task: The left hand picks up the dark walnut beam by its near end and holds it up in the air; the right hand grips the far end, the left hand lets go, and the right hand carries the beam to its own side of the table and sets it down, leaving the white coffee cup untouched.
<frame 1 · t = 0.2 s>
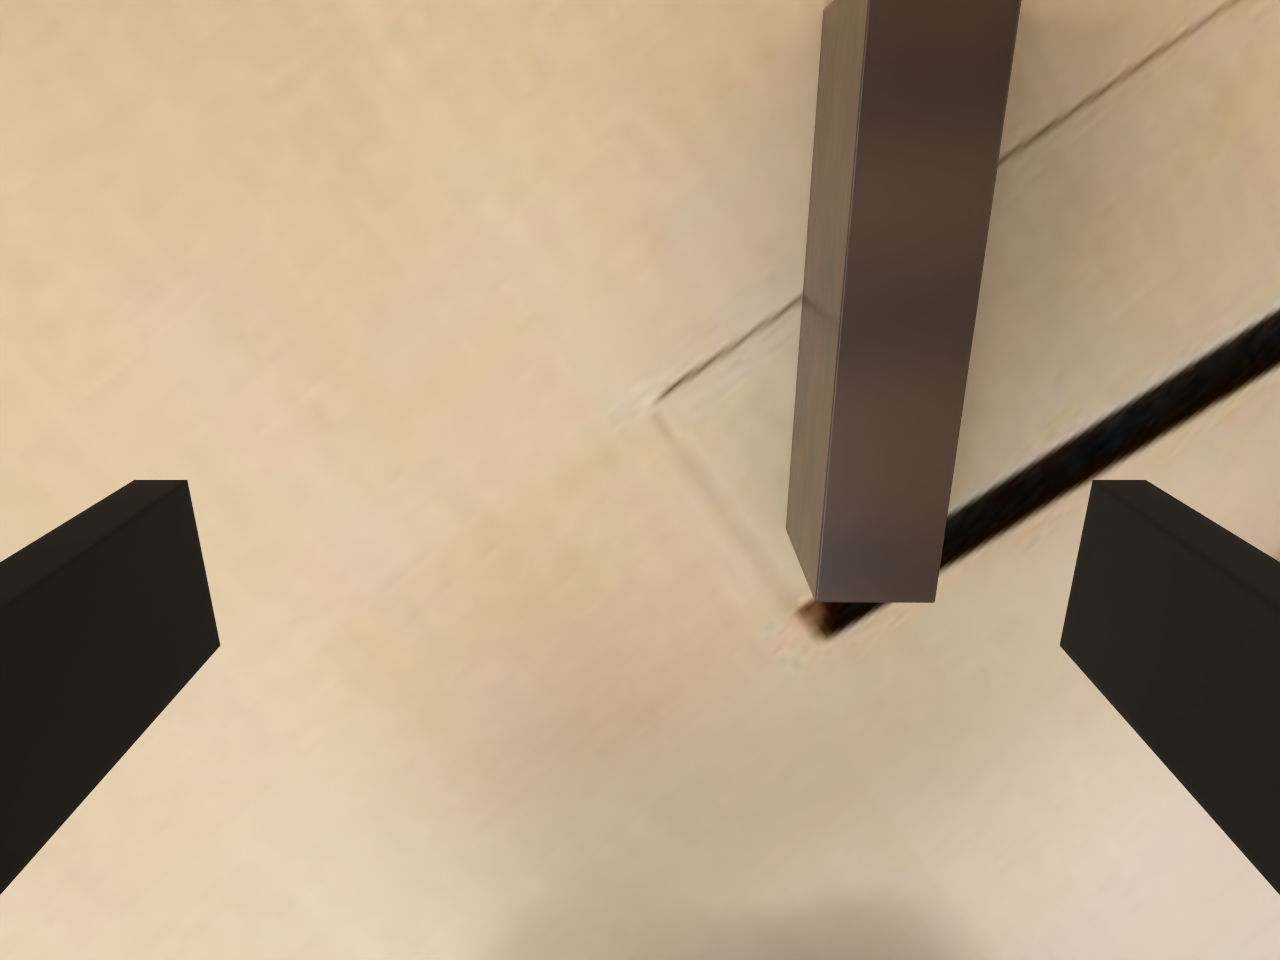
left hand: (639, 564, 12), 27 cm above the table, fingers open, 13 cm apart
walnut beam: (857, 297, 38), on the table
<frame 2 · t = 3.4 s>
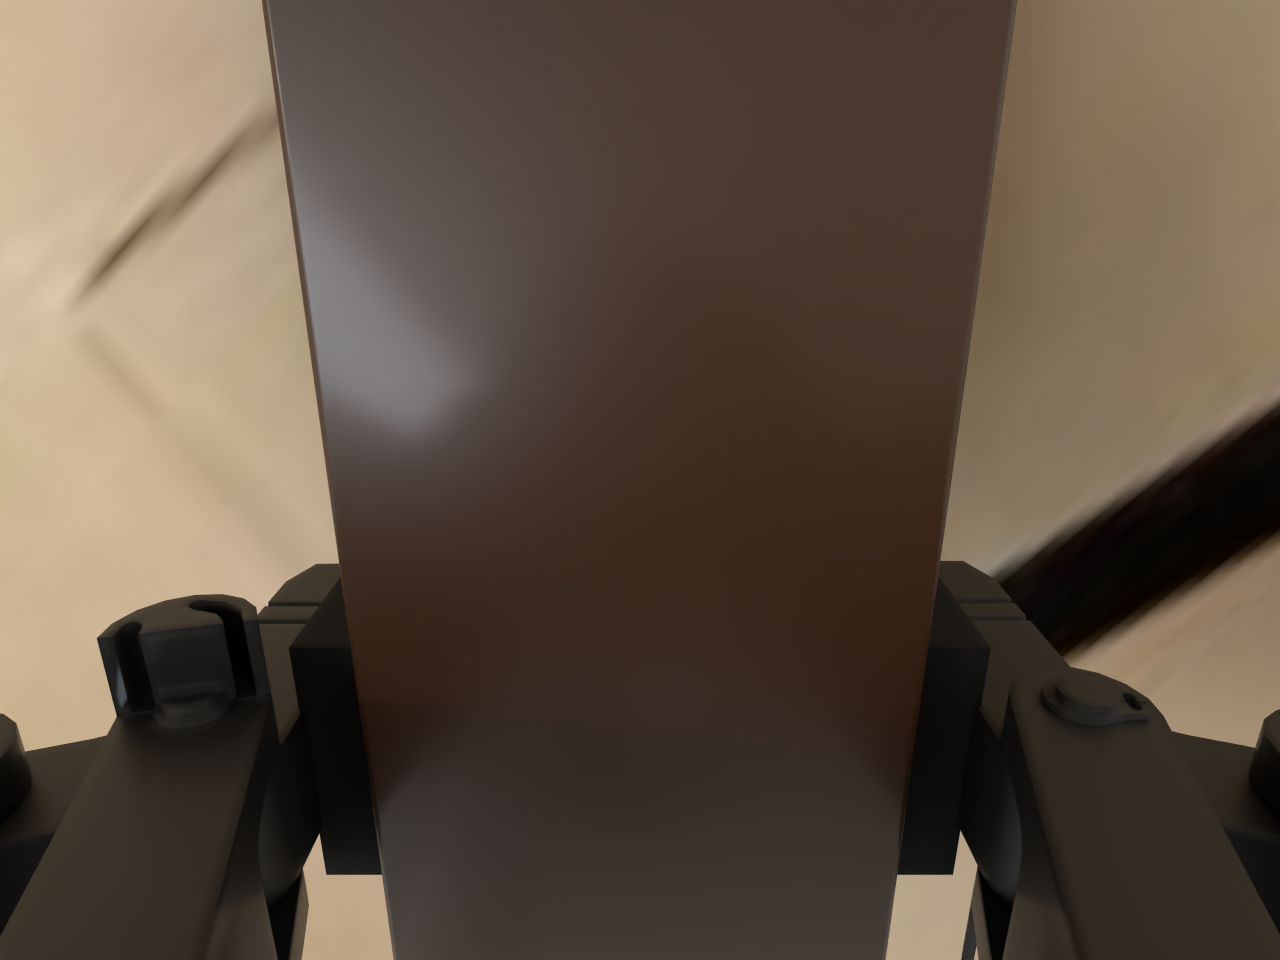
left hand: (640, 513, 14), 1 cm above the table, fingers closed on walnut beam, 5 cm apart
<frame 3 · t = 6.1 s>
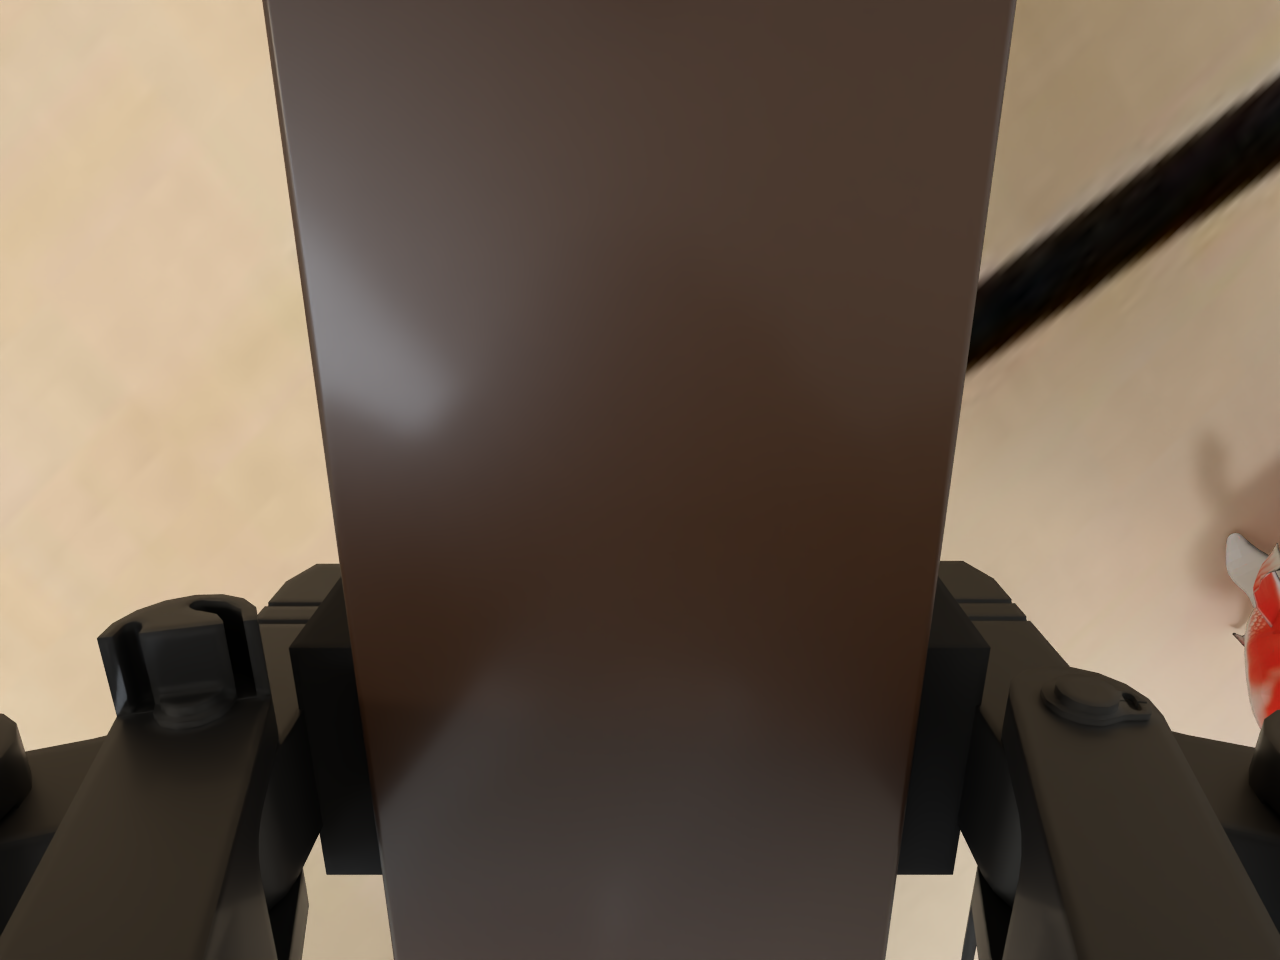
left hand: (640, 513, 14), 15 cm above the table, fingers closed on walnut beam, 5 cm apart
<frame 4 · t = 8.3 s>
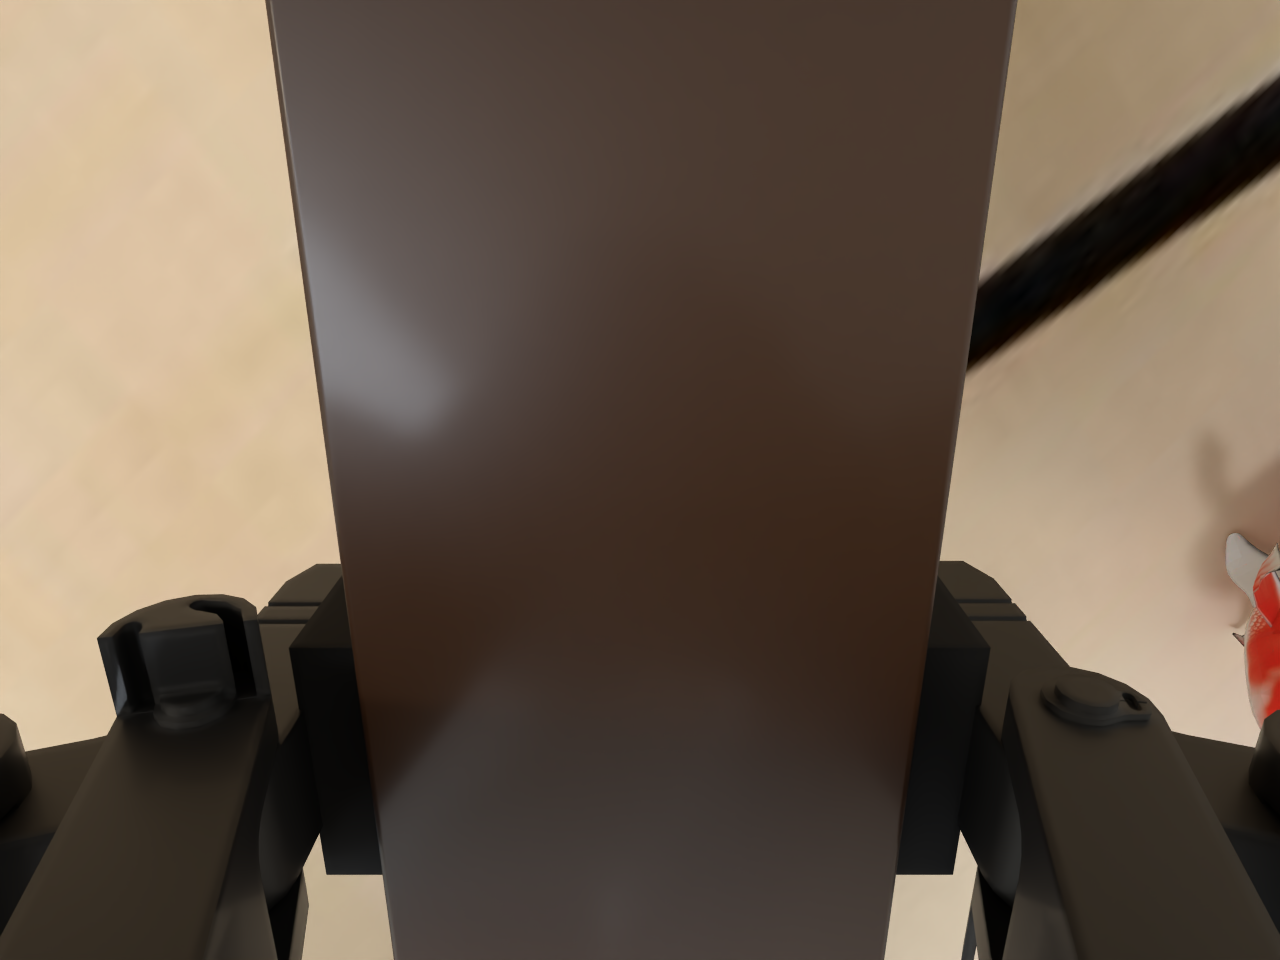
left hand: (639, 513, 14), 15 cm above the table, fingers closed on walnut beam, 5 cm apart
when the left hand's fingers open (15 cm above the table, at t = 9.1 s): walnut beam stays where it is, held by the right hand.
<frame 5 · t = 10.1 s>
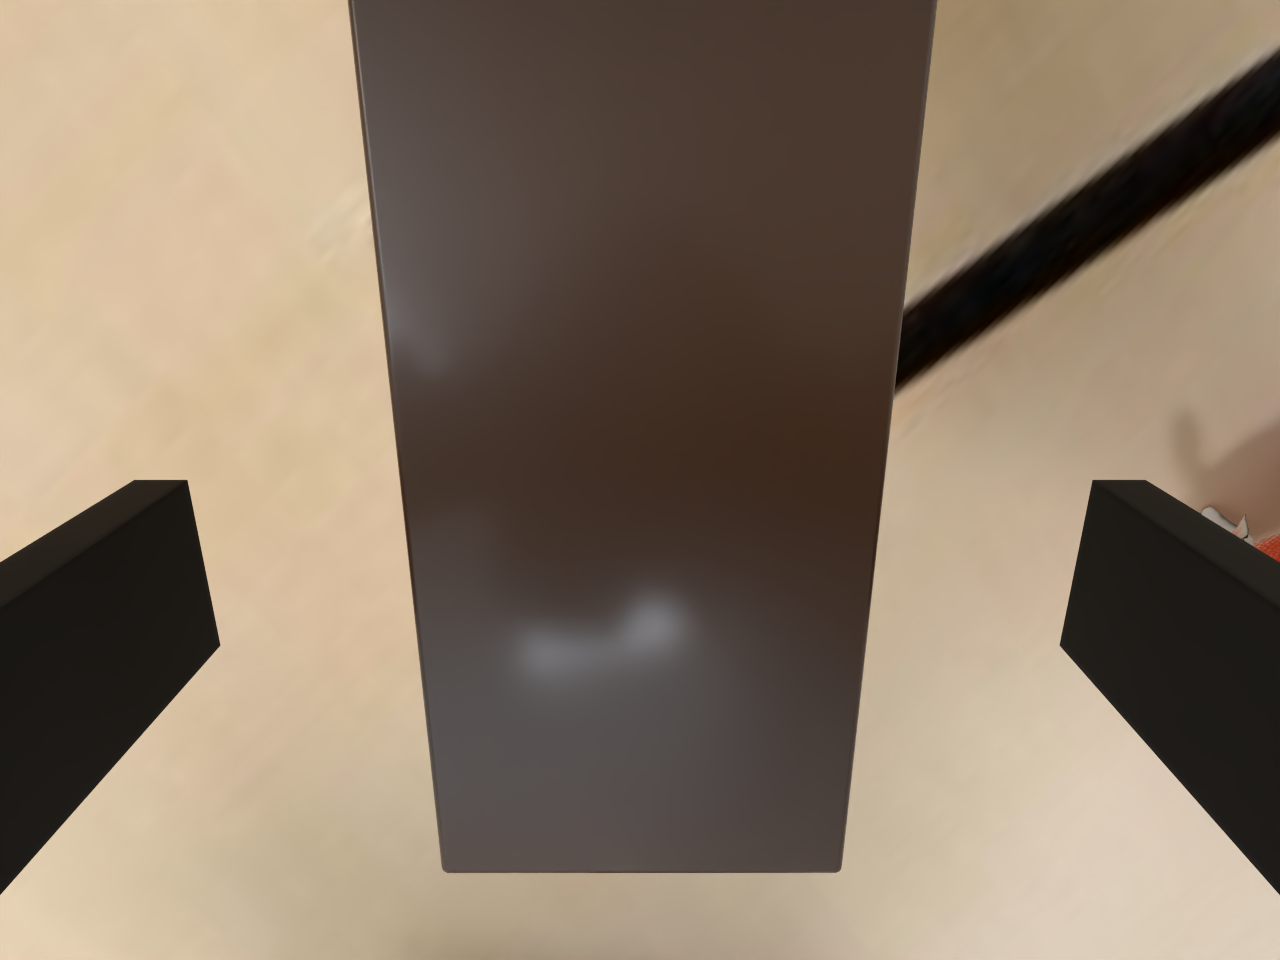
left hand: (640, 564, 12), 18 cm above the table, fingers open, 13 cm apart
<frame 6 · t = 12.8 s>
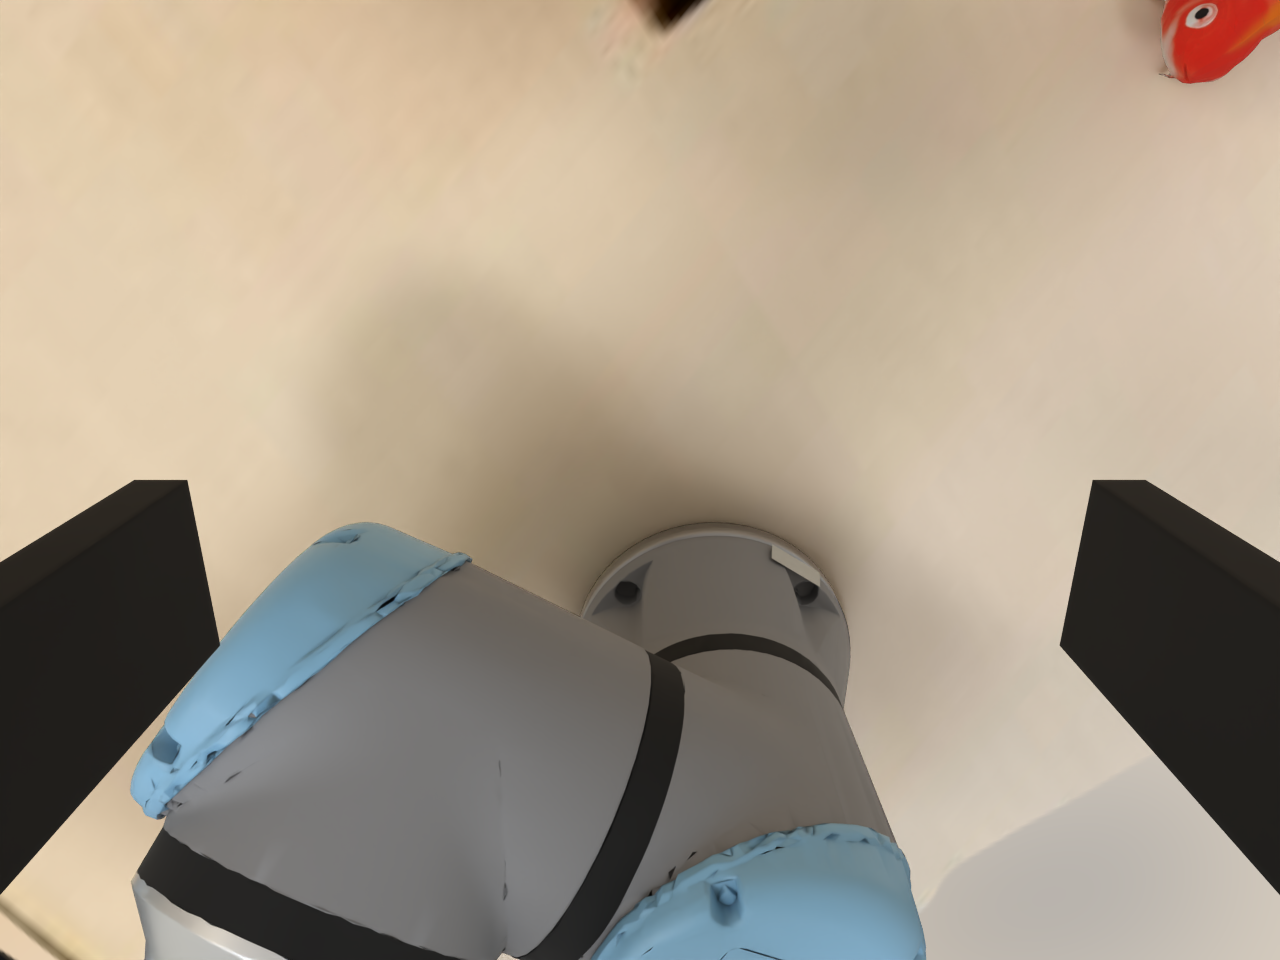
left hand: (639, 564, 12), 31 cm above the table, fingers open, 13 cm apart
when the right hand's fingers open (3 cm above the table, at t = 17.8 s): walnut beam drops 1 cm, on the table.
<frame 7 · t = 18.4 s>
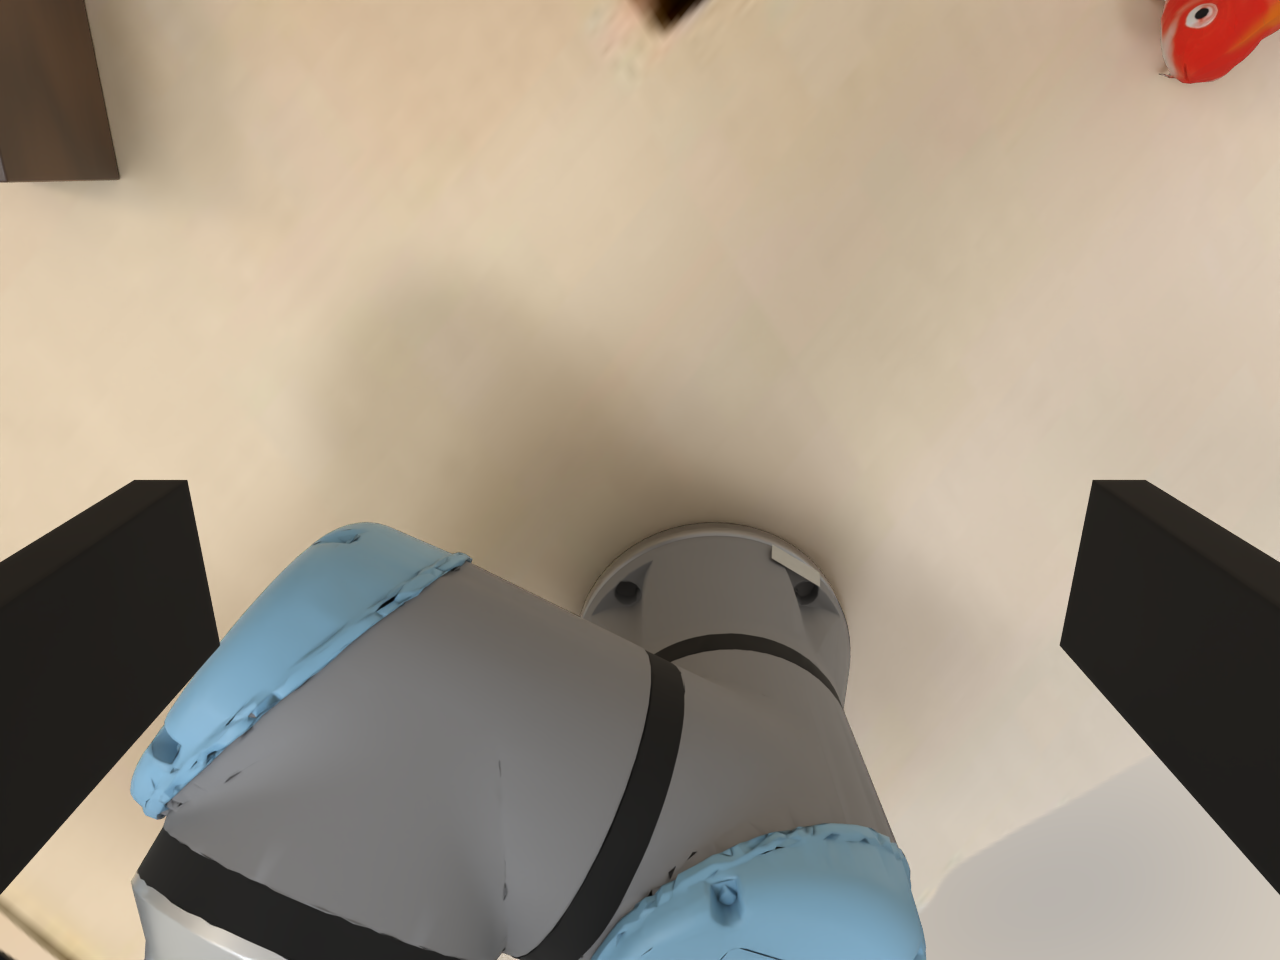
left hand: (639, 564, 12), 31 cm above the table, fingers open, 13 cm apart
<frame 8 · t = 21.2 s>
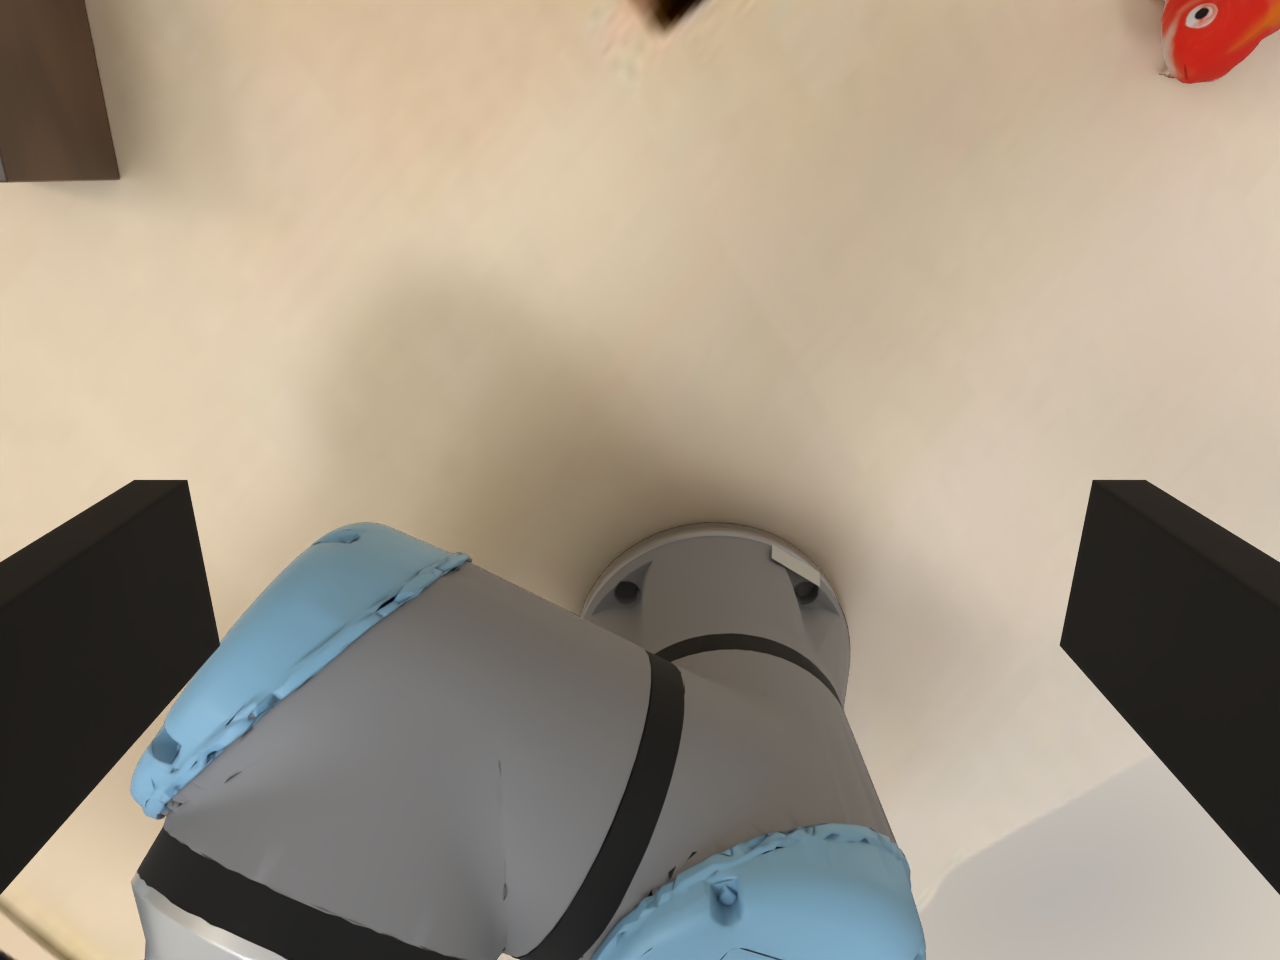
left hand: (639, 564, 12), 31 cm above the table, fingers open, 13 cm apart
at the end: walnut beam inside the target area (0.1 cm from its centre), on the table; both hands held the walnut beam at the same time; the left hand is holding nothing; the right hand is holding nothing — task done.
